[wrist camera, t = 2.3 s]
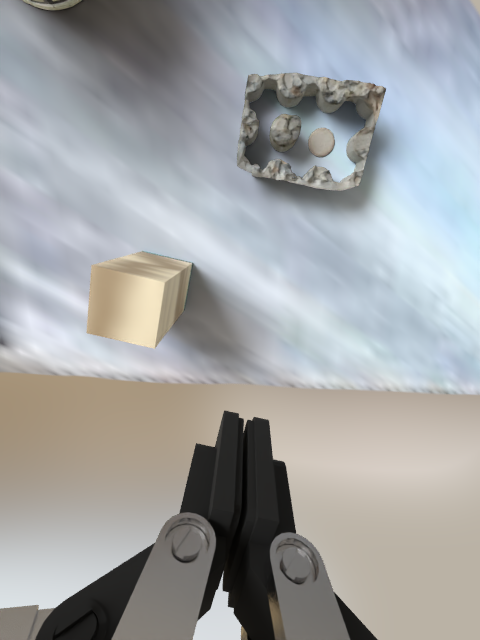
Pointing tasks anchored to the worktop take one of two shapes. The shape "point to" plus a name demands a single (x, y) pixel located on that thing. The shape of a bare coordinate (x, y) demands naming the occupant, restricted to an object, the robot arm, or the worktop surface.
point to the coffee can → (52, 4)
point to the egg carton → (322, 139)
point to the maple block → (137, 297)
